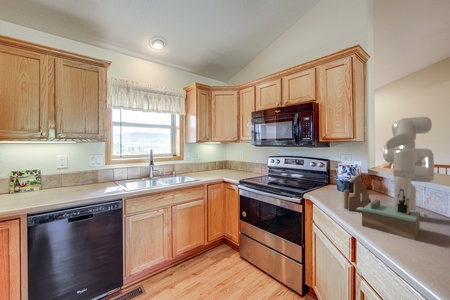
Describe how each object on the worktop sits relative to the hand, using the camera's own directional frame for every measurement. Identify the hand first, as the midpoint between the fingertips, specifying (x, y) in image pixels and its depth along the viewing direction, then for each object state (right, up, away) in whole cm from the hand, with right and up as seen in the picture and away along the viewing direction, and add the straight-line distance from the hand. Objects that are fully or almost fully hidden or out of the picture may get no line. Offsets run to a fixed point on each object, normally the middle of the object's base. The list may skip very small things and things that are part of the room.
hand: (403, 210), depth 95 cm
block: (0, -10, 0) cm, 10 cm away
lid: (-3, -2, +4) cm, 5 cm away
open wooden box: (-3, -11, +4) cm, 12 cm away
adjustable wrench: (+35, -11, +33) cm, 50 cm away
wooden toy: (+1, -11, +34) cm, 36 cm away
